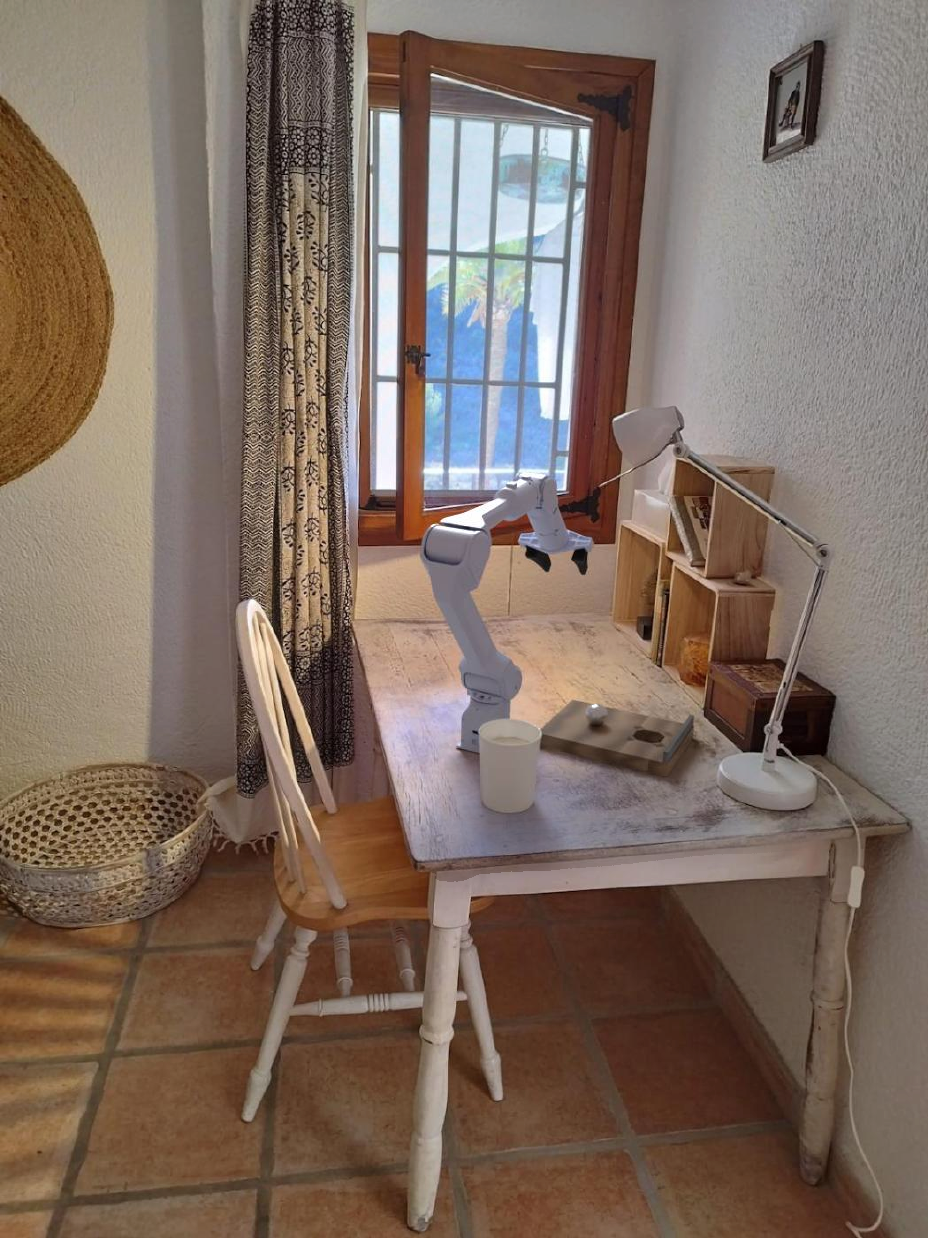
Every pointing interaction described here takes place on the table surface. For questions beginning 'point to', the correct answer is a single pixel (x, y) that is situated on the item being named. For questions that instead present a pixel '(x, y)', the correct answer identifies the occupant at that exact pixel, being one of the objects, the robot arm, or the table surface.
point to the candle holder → (508, 764)
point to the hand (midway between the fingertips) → (566, 569)
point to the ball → (596, 714)
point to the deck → (619, 738)
